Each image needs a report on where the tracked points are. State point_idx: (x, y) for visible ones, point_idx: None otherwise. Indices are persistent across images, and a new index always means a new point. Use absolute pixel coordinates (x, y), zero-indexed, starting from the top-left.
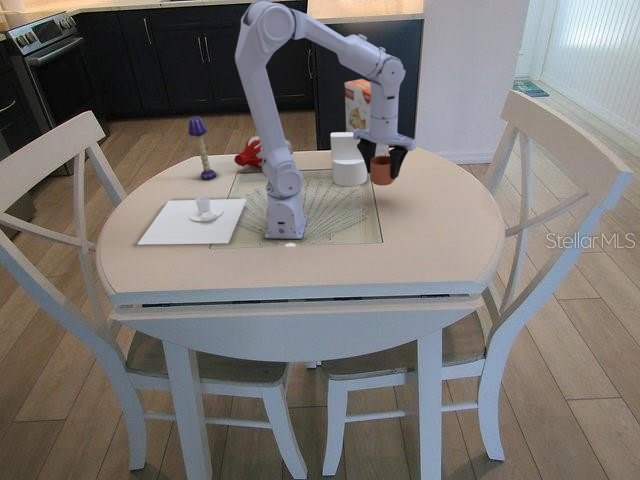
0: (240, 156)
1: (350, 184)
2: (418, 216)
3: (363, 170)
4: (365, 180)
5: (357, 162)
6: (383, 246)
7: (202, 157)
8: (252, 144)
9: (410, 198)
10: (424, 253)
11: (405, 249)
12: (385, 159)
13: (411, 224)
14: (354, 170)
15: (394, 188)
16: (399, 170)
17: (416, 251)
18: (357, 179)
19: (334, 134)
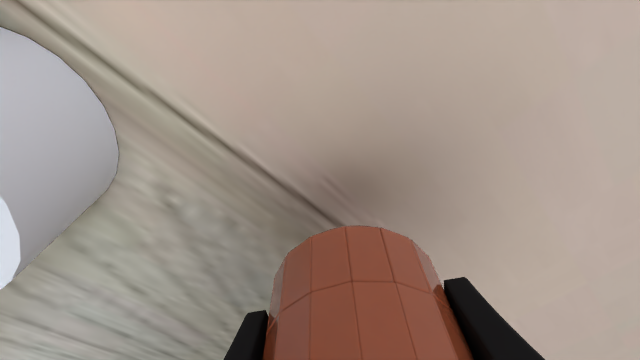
0: None
1: (105, 189)
2: (540, 178)
3: (53, 146)
4: (90, 95)
5: (3, 227)
6: None
7: None
8: None
9: (424, 72)
10: (635, 309)
11: (574, 324)
12: (321, 352)
13: (537, 234)
14: (57, 220)
15: (275, 39)
16: (493, 311)
17: (609, 314)
18: (99, 172)
19: None
